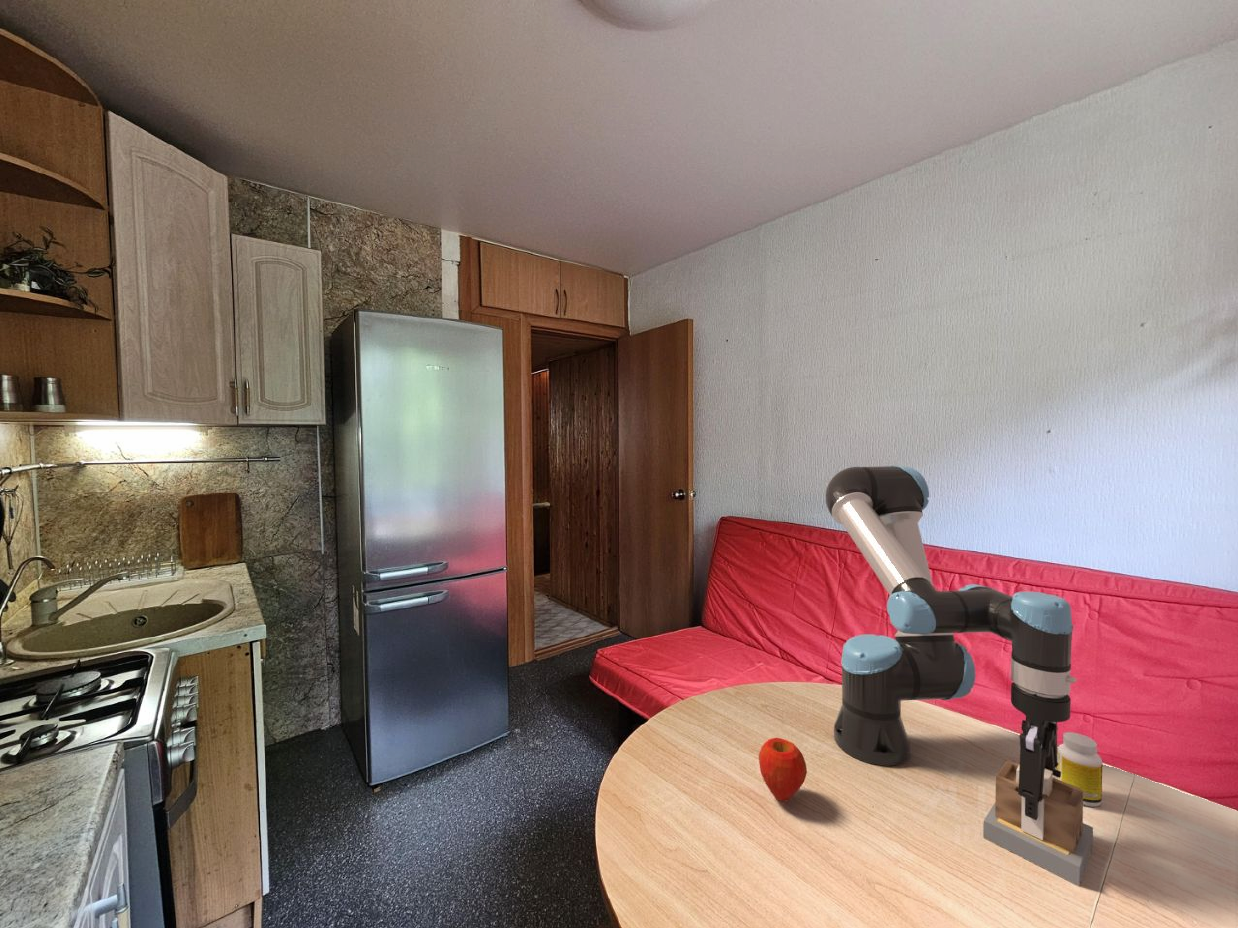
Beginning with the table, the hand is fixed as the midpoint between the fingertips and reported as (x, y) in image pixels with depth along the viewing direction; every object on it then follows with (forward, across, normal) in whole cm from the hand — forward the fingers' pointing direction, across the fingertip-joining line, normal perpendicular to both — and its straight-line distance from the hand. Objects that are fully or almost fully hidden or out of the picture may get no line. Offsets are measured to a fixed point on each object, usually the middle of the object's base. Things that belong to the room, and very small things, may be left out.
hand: (1038, 822), depth 82 cm
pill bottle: (+4, +20, -2) cm, 20 cm away
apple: (+4, -24, +33) cm, 41 cm away
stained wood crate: (0, 0, 0) cm, 0 cm away
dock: (+3, 0, 0) cm, 3 cm away
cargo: (-6, 0, 0) cm, 6 cm away
